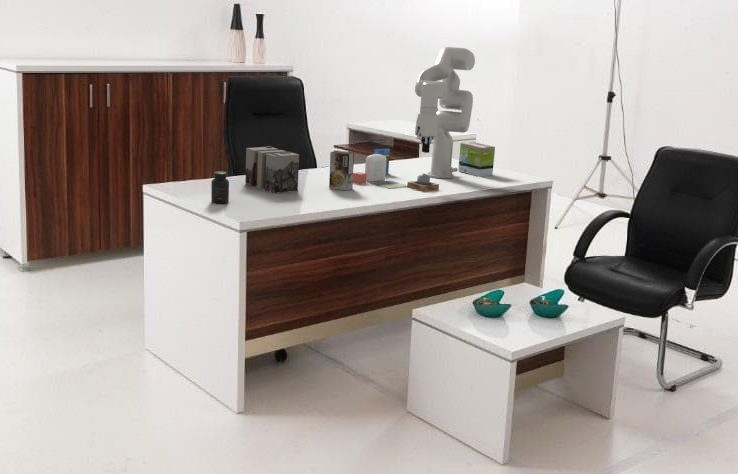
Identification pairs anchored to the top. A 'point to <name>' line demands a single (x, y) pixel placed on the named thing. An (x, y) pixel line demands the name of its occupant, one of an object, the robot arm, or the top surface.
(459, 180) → the top surface
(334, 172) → the coffee box
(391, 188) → the pad
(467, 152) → the tea box
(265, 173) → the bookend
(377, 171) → the photo printer
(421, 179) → the dome
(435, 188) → the frame
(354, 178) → the die
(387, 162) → the blue retail box
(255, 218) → the top surface
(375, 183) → the pad
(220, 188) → the supplement bottle
